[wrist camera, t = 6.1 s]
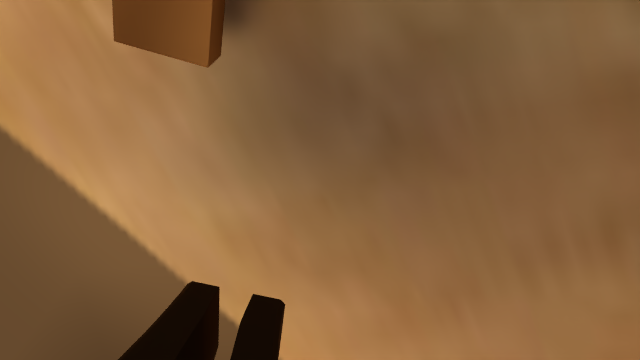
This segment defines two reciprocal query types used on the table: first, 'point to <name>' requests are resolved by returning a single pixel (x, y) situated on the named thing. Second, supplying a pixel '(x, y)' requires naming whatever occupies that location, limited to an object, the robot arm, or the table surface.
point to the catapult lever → (172, 27)
